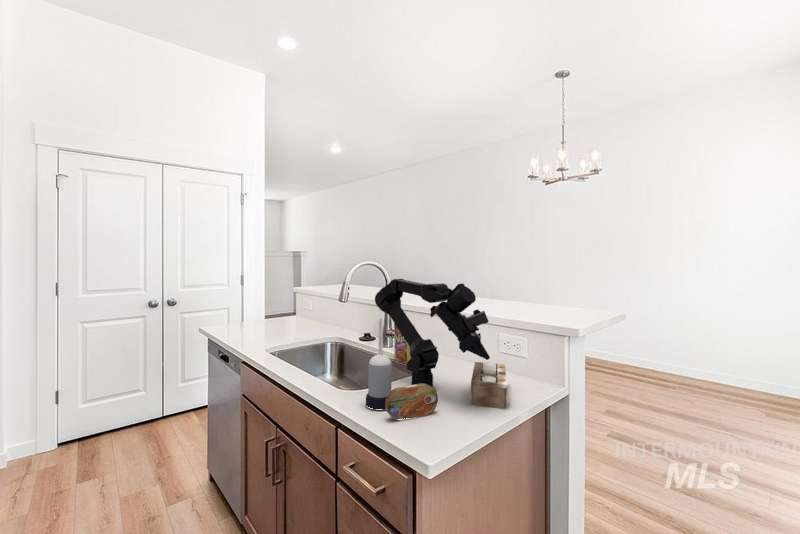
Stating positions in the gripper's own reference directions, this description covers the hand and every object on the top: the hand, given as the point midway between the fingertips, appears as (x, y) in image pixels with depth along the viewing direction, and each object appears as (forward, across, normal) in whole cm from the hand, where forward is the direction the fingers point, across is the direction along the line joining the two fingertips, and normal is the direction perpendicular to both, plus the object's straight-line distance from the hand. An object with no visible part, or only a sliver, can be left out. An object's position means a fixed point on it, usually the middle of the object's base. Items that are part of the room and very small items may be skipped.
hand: (488, 358), depth 112 cm
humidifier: (-12, -8, +32) cm, 35 cm away
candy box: (-13, +36, +31) cm, 50 cm away
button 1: (+7, 0, +7) cm, 10 cm away
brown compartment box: (+10, +7, +8) cm, 14 cm away
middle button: (+6, +6, +5) cm, 10 cm away
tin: (-4, -14, +25) cm, 29 cm away
